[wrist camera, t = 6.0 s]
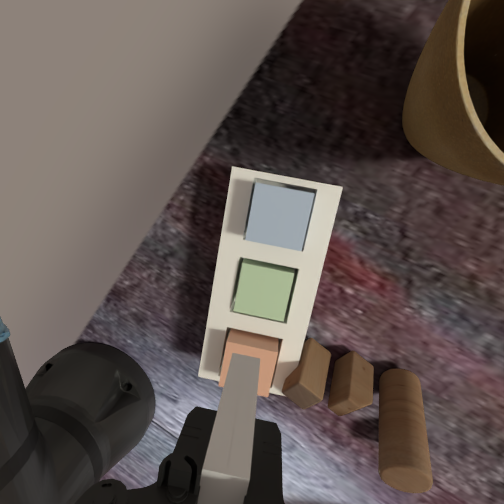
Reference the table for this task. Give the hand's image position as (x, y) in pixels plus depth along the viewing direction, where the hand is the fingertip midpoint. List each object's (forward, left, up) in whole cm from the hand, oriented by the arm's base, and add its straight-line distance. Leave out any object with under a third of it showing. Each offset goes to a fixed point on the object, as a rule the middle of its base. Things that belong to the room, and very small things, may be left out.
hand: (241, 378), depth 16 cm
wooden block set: (+14, -10, -18) cm, 25 cm away
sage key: (0, 0, -16) cm, 16 cm away
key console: (0, 0, -17) cm, 17 cm away
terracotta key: (0, -7, -15) cm, 17 cm away
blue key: (0, +8, -15) cm, 17 cm away
